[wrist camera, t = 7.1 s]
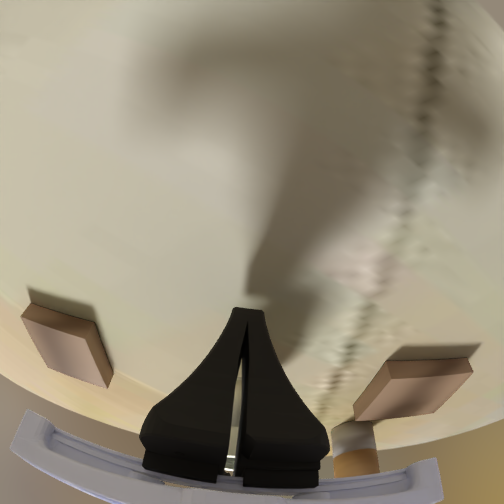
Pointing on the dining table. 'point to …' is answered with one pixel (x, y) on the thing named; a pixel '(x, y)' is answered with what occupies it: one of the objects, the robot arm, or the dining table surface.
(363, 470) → the marker peg
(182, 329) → the dining table surface
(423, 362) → the blocks
